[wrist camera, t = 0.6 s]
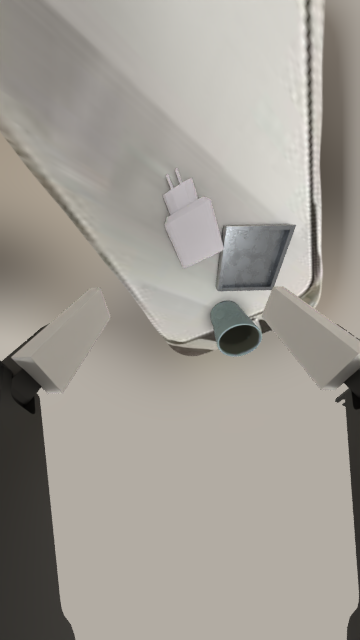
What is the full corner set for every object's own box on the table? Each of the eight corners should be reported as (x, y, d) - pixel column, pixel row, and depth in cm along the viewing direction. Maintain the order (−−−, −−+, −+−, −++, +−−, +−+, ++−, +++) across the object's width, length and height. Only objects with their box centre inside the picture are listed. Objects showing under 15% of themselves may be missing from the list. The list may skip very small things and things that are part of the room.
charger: (195, 159, 26) (219, 245, 34) (149, 189, 28) (182, 263, 36) (198, 149, 22) (225, 249, 30) (145, 184, 24) (183, 269, 32)
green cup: (211, 297, 41) (221, 323, 31) (247, 298, 41) (269, 324, 31) (206, 327, 46) (214, 356, 37) (238, 327, 47) (254, 357, 37)
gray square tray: (223, 225, 31) (226, 226, 29) (288, 224, 31) (296, 224, 29) (215, 287, 39) (217, 291, 37) (267, 286, 39) (272, 289, 37)
